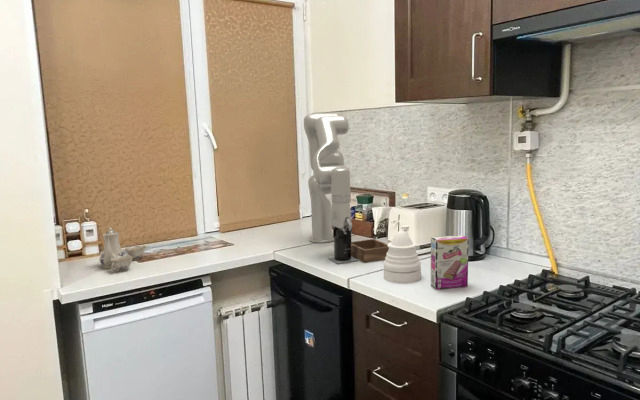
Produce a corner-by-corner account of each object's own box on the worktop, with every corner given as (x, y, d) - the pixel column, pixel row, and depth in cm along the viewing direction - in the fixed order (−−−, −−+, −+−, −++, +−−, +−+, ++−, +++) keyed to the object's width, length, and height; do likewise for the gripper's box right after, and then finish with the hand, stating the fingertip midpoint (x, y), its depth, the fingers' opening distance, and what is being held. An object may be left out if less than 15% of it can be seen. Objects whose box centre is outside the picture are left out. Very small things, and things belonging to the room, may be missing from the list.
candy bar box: (436, 290, 155) (435, 240, 153) (430, 285, 160) (429, 237, 158) (469, 287, 157) (469, 237, 155) (462, 282, 162) (462, 234, 160)
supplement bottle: (350, 261, 192) (349, 231, 190) (333, 260, 193) (332, 231, 192) (352, 256, 199) (351, 227, 197) (336, 256, 200) (335, 227, 198)
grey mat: (328, 259, 198) (328, 257, 198) (348, 256, 202) (348, 255, 202) (337, 264, 190) (337, 263, 190) (358, 261, 193) (358, 260, 193)
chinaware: (134, 277, 190) (134, 235, 188) (88, 276, 187) (88, 233, 185) (147, 259, 217) (148, 222, 215) (108, 258, 215) (108, 221, 213)
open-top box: (347, 254, 205) (346, 242, 204) (374, 250, 210) (374, 238, 209) (364, 262, 190) (364, 250, 190) (393, 258, 195) (393, 246, 195)
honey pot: (400, 270, 179) (400, 222, 177) (428, 277, 169) (428, 226, 167) (376, 277, 171) (374, 227, 169) (403, 285, 161) (402, 232, 159)
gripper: (324, 196, 199) (325, 237, 202) (341, 202, 183) (342, 247, 186) (340, 195, 202) (341, 235, 205) (359, 201, 186) (360, 244, 189)
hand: (342, 240), depth 195 cm, fingers open, 9 cm apart
